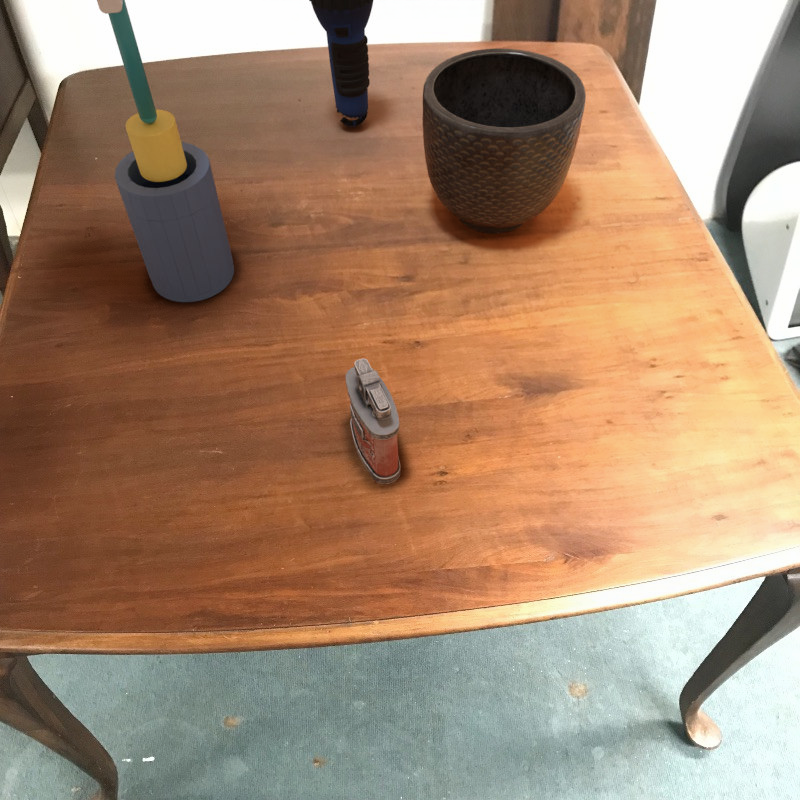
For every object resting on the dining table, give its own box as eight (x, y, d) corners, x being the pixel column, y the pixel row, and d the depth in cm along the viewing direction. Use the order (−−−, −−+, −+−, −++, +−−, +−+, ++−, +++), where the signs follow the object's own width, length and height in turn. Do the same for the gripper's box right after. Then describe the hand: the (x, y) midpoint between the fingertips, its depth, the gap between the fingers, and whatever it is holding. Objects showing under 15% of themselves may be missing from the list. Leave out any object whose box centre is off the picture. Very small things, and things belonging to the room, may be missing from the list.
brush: (139, 184, 75) (65, -44, 59) (140, 157, 78) (69, -67, 62) (187, 178, 76) (126, -49, 59) (186, 152, 78) (128, -72, 62)
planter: (451, 272, 87) (458, 146, 75) (402, 185, 97) (400, 62, 85) (588, 238, 90) (617, 113, 78) (526, 158, 101) (543, 36, 88)
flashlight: (311, 122, 107) (293, -32, 91) (360, 104, 109) (351, -48, 94) (340, 149, 103) (327, -7, 87) (390, 130, 105) (386, -25, 90)
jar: (151, 307, 84) (112, 201, 73) (152, 253, 90) (116, 147, 79) (236, 295, 85) (210, 189, 74) (232, 242, 91) (207, 136, 80)
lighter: (343, 422, 74) (335, 352, 66) (376, 412, 75) (372, 340, 67) (373, 489, 69) (368, 421, 61) (408, 476, 70) (407, 408, 62)
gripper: (22, -240, 59) (82, -46, 70) (-15, -155, 47) (65, 65, 58) (106, -245, 60) (152, -53, 71) (92, -163, 47) (151, 56, 58)
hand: (113, 1), depth 64 cm, fingers closed on brush
